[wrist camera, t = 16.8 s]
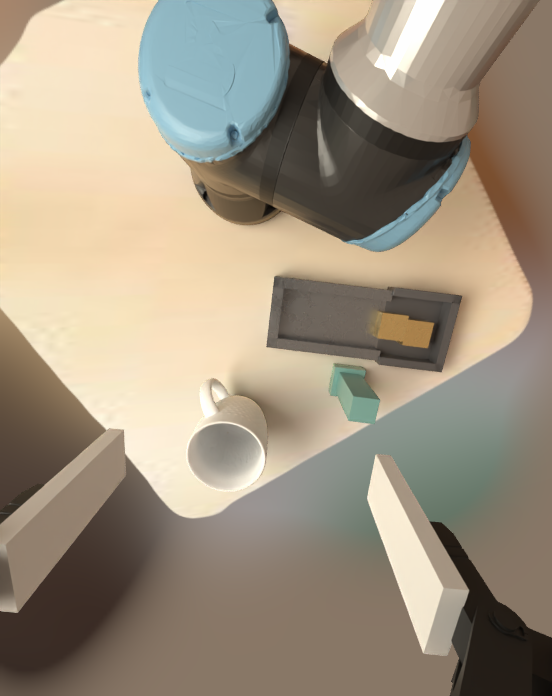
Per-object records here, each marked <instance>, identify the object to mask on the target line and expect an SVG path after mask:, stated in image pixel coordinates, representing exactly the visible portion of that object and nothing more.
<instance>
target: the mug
mask: <svg viewBox="0 0 552 696" xmlns="http://www.w3.org/2000/svg"><path fill="white" fill-rule="evenodd" d="M211 387H212V388H213V389H214V391H215V392H216V393H217V395H218V396H219V398H220V400H219V401H218V402H217V403H215V402H214V400H213V397H212V392H211ZM200 401H201V406H202V410H203V413H204V416H203V417H202V419H201V420H200V421H199V423H198V425H197V426H196V428H195V430H194V432H193V434H192V436H191V438H190V440H189V442H188V445H187V450H186V457H187V463H188V465H189V468H190V470H191V472H192V473H193V474H194V476H195V477H196V478H197V479H198V480H199V481H200V482H202V483H203V484H204V485H206V486H208V487H210V488H212V489H215V490H218V491H226V492H230V491H238V490H241V489H244V488H246V487H248V486H250V485H252V484H253V483H254V482H255V481H256V480H257V479H258V478H259V477H260V476H261V474H262V472H263V470H264V467H265V464H266V455H267V444H268V430H267V424H266V420H265V417H264V414H263V412H262V410H261V409H260V407H259V406H258V405H257V403H255V402H254V401H253V400H251V399H250V398H247V397H245V396H230V395H229V393H228V392H227V390H226V389H225V387H224V386H223V385H222V384H221V383H220V382H219V381H218V380H217V379H214V378H212V379H208V380H206V381H204V382H203V383H202V385H201V388H200Z"/></svg>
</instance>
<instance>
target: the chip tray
mask: <svg viewBox="0 0 552 696" xmlns="http://www.w3.org/2000/svg"><path fill="white" fill-rule="evenodd" d="M388 290H391V291H393V295H392V300H391V301H386V306H385V311H384V312H391V313H399V314H404V315H407V316H409V318H410V319H418V320H426V321H429V322H433V323H434V326H433V330H432V334H431V338H430V342H429V346H428V348H421V347H413V346H405V345H401V344H399V343H398V342H396V341H394V340H387V339H379V340H378V344H377V349H379V350H380V351H381V352H380V356H379V361H378V360H375V361H376V362H377V363H378V364H379V365H387V366H395V367H403V368H412V369H420V370H428V371H436V372H442V369H443V365H444V362H445V358H446V354H447V351H448V347H449V343H450V339H451V336H452V332H453V328H454V325H455V321H456V317H457V313H458V310H459V306H460V302H461V299H462V296H460V295H451V294H443V293H435V292H427V291H419V290H411V289H403V288H394V287H388Z"/></svg>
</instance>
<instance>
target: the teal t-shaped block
mask: <svg viewBox="0 0 552 696" xmlns="http://www.w3.org/2000/svg"><path fill="white" fill-rule="evenodd" d="M365 373H366V370H365V369H364V368H363V367H357V366H350V365H342V364H333V369H332V375H331V380H330V386H329V393H330V395H331V396H338V398H339V401H340V403H341V405H342V407H343V410H344V412H345V414H346V416H347V418H348V421H355V422H363V423H370V424H375V420H376V416H377V411H378V407H379V402H380V399H379V398H378V397H377V395H376V394H375V393H374V391H373V390H372V389H371V388H370V386H369V385H368V384H367V382H366V381H365V380H364V378H365Z"/></svg>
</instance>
